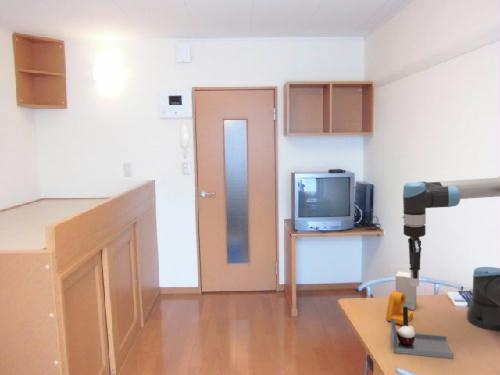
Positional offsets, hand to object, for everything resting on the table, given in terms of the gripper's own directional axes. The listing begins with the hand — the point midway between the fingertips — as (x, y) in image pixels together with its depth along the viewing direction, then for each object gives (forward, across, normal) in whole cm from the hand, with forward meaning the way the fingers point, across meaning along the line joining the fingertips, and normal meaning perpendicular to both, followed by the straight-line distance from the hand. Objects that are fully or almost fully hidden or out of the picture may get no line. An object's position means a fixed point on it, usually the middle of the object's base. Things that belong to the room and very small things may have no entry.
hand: (414, 285), depth 147 cm
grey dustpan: (+23, +3, +1) cm, 23 cm away
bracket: (+23, -18, -3) cm, 29 cm away
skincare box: (+23, -32, +1) cm, 39 cm away
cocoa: (+22, +3, -4) cm, 22 cm away
